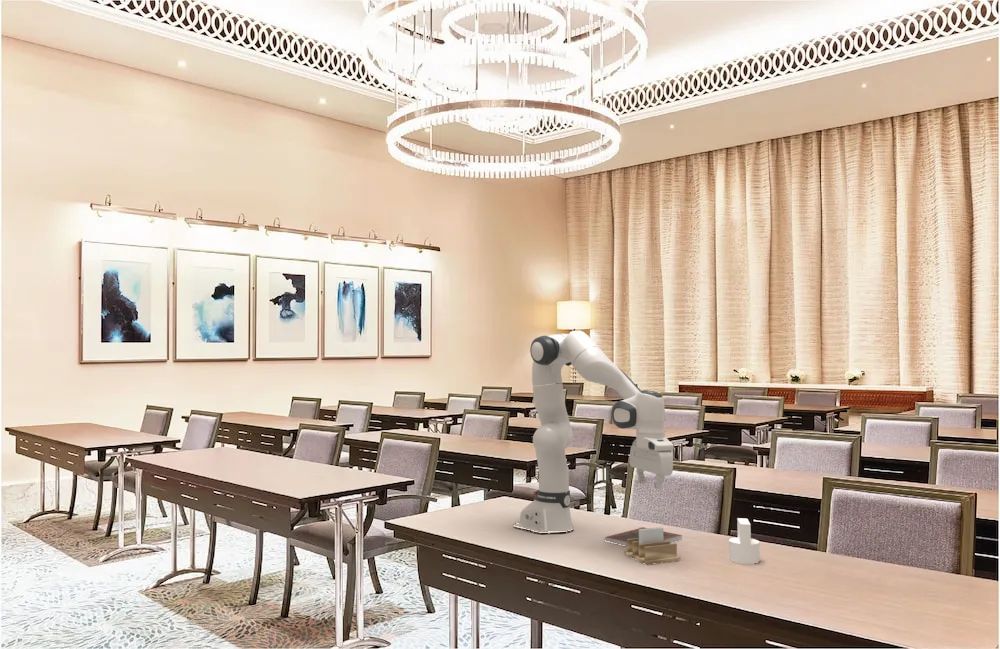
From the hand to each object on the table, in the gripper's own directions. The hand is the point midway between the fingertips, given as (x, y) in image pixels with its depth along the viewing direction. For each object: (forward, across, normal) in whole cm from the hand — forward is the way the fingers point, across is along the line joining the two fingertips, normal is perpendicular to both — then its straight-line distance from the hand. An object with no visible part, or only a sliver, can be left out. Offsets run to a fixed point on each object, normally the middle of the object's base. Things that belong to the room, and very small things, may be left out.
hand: (649, 485), depth 240 cm
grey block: (+21, +2, 0) cm, 21 cm away
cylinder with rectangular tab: (+22, +15, +25) cm, 36 cm away
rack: (+22, +2, 0) cm, 22 cm away
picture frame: (+23, -18, +9) cm, 30 cm away
